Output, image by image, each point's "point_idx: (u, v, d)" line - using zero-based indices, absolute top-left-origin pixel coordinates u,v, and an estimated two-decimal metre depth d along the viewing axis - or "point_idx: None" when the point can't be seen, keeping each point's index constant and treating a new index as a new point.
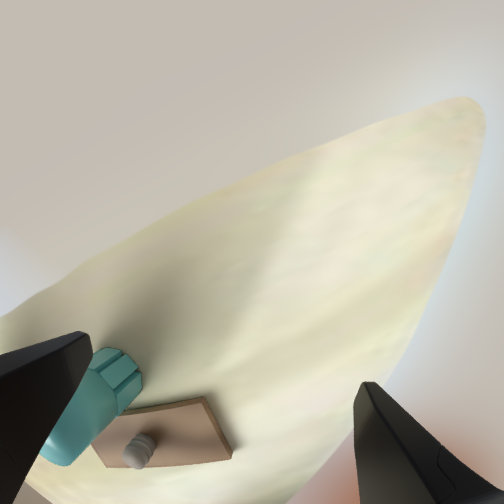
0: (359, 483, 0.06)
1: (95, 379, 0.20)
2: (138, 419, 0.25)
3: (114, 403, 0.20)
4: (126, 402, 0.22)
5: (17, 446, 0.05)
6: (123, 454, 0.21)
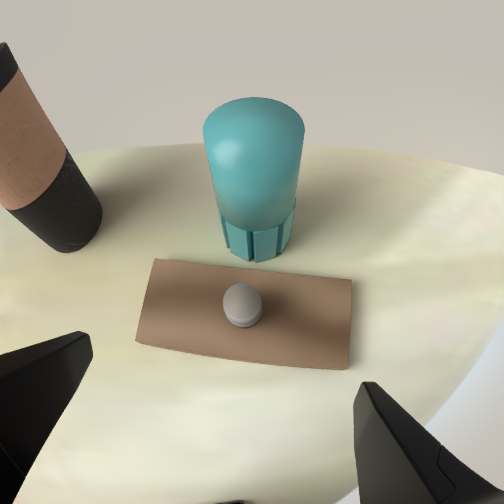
0: (359, 483, 0.06)
1: None
2: (259, 278, 0.23)
3: (292, 207, 0.21)
4: (284, 231, 0.23)
5: (16, 446, 0.05)
6: (232, 288, 0.20)
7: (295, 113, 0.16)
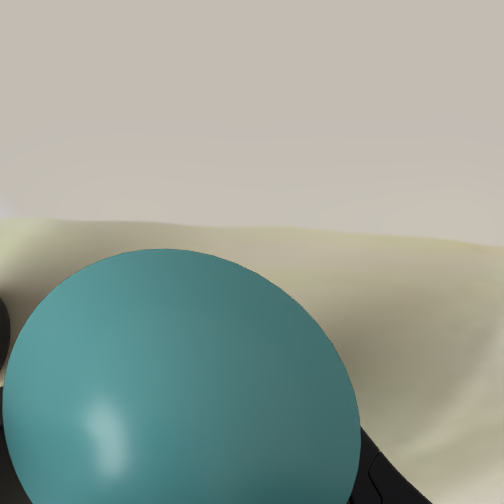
0: None
1: None
2: None
3: None
4: None
5: None
6: None
7: (332, 363, 0.04)
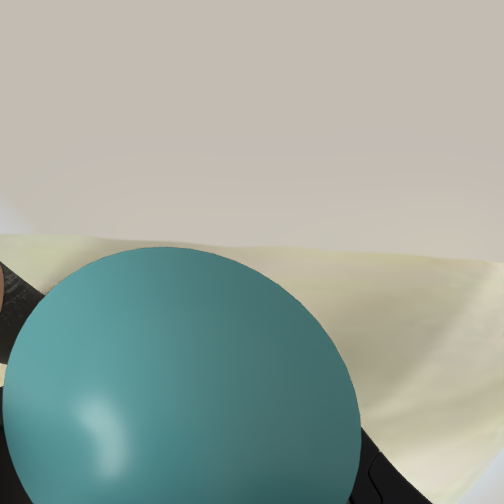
0: None
1: None
2: None
3: None
4: None
5: None
6: None
7: (332, 360, 0.04)
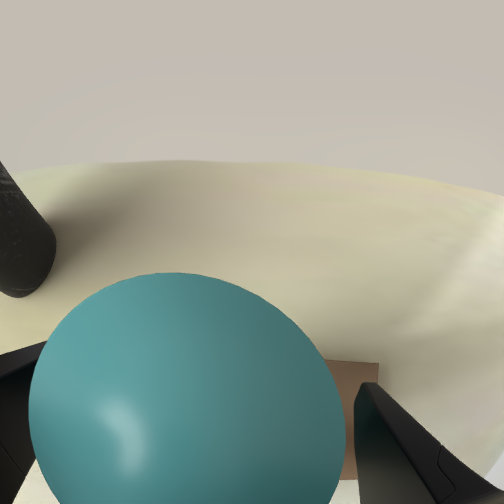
0: (359, 483, 0.06)
1: None
2: None
3: None
4: None
5: (17, 446, 0.05)
6: None
7: (321, 372, 0.04)
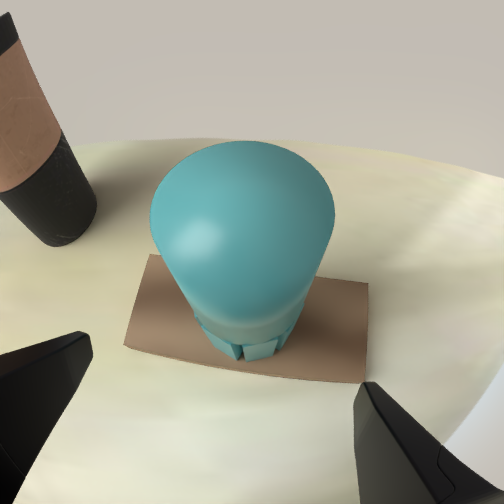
0: (359, 483, 0.06)
1: None
2: None
3: (299, 310, 0.14)
4: (286, 336, 0.16)
5: (17, 446, 0.05)
6: None
7: (318, 176, 0.10)
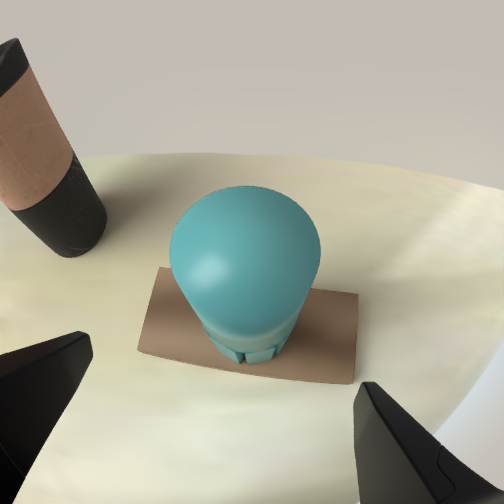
0: (359, 483, 0.06)
1: None
2: None
3: (294, 322, 0.16)
4: (283, 344, 0.18)
5: (16, 446, 0.05)
6: None
7: (308, 220, 0.12)
